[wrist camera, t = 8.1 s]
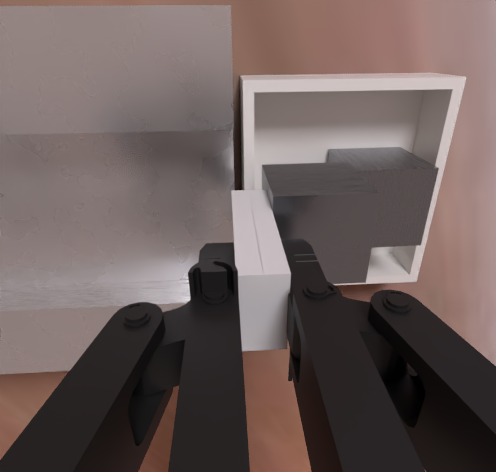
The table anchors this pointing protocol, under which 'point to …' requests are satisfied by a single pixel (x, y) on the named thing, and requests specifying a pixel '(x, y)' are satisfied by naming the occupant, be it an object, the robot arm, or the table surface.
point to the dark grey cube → (394, 191)
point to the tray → (350, 132)
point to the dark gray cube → (326, 214)
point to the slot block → (107, 167)
